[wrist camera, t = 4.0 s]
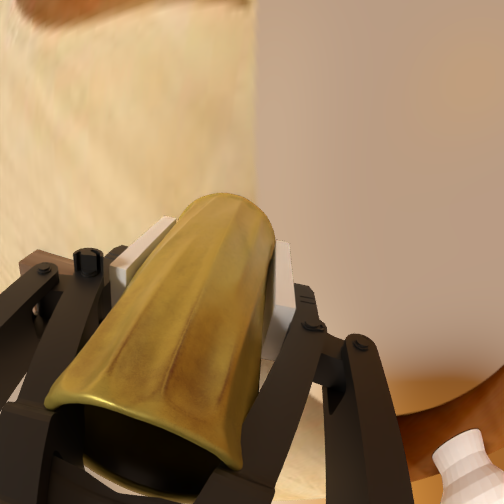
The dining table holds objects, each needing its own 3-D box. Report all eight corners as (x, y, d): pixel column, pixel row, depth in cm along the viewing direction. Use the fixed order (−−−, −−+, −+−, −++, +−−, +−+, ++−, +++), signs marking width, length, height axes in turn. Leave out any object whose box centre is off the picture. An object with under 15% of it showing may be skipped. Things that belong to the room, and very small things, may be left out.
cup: (434, 437, 26) (463, 536, 13) (499, 412, 25) (535, 495, 11) (414, 471, 30) (432, 552, 17) (473, 450, 29) (497, 522, 15)
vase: (287, 207, 17) (314, 438, 4) (260, 296, 20) (236, 520, 7) (185, 181, 17) (-5, 329, 4) (169, 272, 20) (57, 462, 6)
